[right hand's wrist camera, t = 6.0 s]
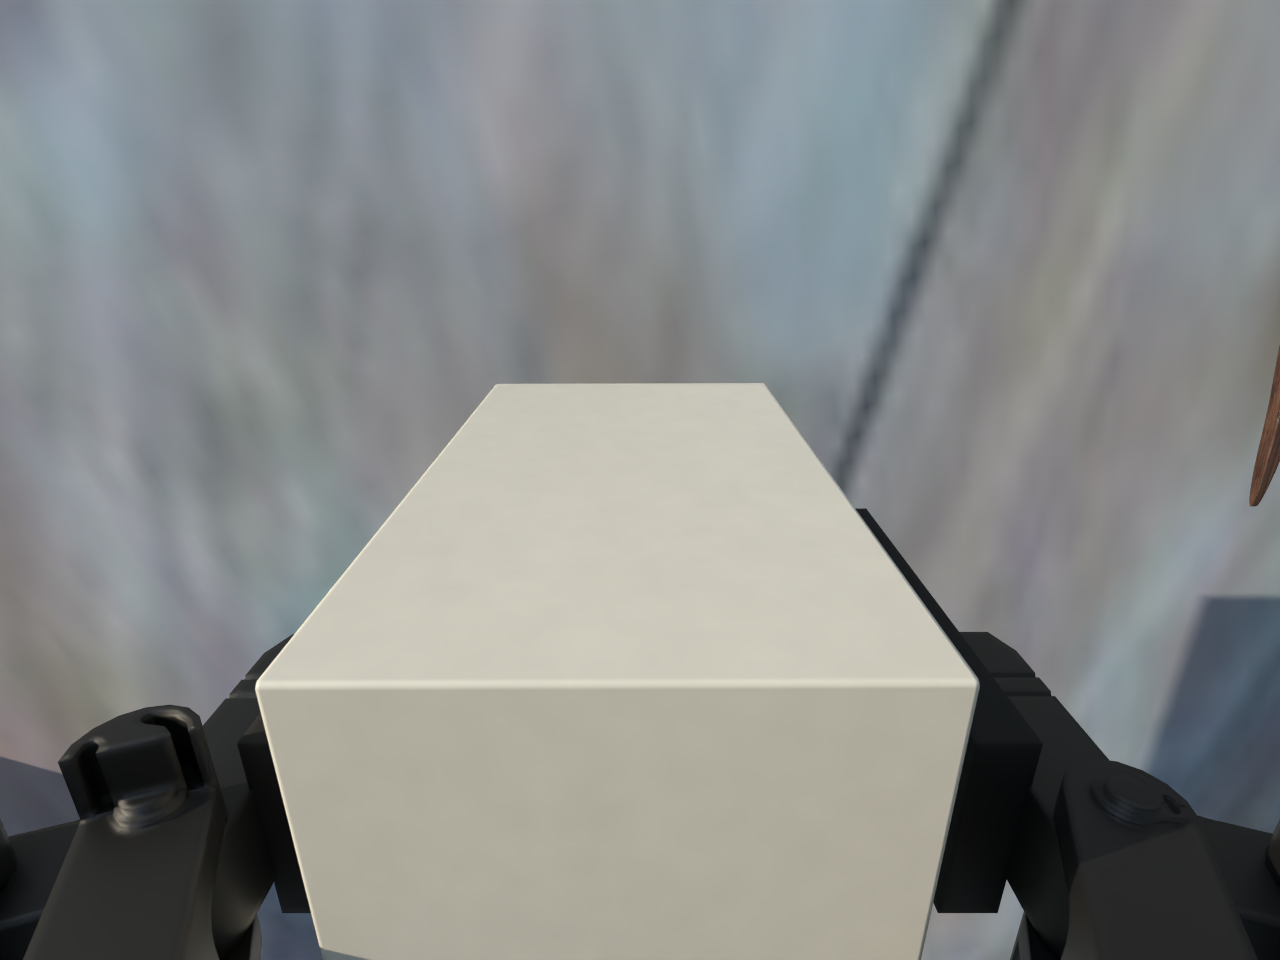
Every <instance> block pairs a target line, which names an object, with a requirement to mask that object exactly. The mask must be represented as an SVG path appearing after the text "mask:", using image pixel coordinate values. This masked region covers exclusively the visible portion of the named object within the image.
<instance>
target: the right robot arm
mask: <svg viewBox="0 0 1280 960" xmlns="http://www.w3.org/2000/svg"><path fill="white" fill-rule="evenodd" d="M856 510H857V512H858V513H859V515H860V516H861V517H862V519H863V520H864V522H865V523H866V524H867V526H868V527H869V528H870V530H871V531H872V533H873V534H874V535H875V537H876V538H877V540H878V541H879V542H880V544H881V545H882V546H883V548H884V549H885V551H886V552H887V553H888V555H889V556H890V557H891V559H892V560H893V562H894V563H895V564H896V566H897V567H898V569H899V570H900V571H901V573H902V574H903V575H904V577H905V578H906V580H907V581H908V582H909V584H910V585H911V587H912V588H913V589H914V591H915V592H916V593H917V595H918V596H919V598H920V599H921V600H922V602H923V603H924V605H925V606H926V607H927V609H928V610H929V611H930V613H931V614H932V616H933V617H934V618H935V620H936V621H937V622H938V624H939V625H940V627H941V628H942V629H943V631H944V632H945V634H946V635H947V636H948V638H949V639H950V640H951V642H952V643H953V645H954V646H955V647H956V649H957V650H958V652H959V653H960V654H961V656H962V657H963V658H964V660H965V661H966V663H967V664H968V665H969V667H970V668H971V670H972V671H973V672H974V674H975V675H976V676H977V678H978V680H979V684H980V688H979V693H978V697H977V702H976V707H975V711H974V716H973V720H972V725H971V730H970V734H969V739H968V744H967V748H966V753H965V757H964V762H963V767H962V771H961V776H960V781H959V785H958V790H957V794H956V799H955V804H954V808H953V813H952V817H951V822H950V827H949V831H948V836H947V841H946V845H945V850H944V854H943V859H942V864H941V868H940V873H939V878H938V882H937V887H936V891H935V896H934V901H933V902H934V905H935V907H936V909H937V912H938V913H998V909H999V905H1000V902H1001V898H1002V894H1003V891H1004V887H1005V883H1006V879H1007V880H1008V882H1009V884H1010V886H1011V888H1012V890H1013V891H1014V893H1015V895H1016V897H1017V899H1018V901H1019V902H1020V904H1021V906H1022V908H1023V910H1024V913H1023V917H1022V920H1021V924H1020V927H1019V931H1018V934H1017V938H1016V941H1015V944H1014V948H1013V951H1012V955H1011V958H1010V960H1280V820H1279V822H1278V824H1277V827H1276V829H1275V831H1274V833H1273V834H1271V833H1267V832H1262V831H1258V830H1254V829H1249V828H1245V827H1241V826H1237V825H1232V824H1228V823H1224V822H1219V821H1215V820H1211V819H1207V818H1203V817H1200V816H1197V815H1196V814H1195V812H1194V811H1193V809H1192V808H1191V806H1190V805H1189V804H1188V802H1187V801H1186V800H1185V799H1184V798H1182V797H1181V796H1180V795H1179V794H1178V793H1177V792H1175V791H1174V790H1173V789H1172V788H1171V787H1170V786H1168V785H1167V784H1166V783H1164V782H1162V781H1160V780H1158V779H1157V778H1155V777H1153V776H1151V775H1150V774H1148V773H1146V772H1144V771H1142V770H1140V769H1137V768H1134V767H1131V766H1128V765H1125V764H1122V763H1119V762H1116V761H1109V759H1108V758H1107V757H1106V756H1105V755H1104V753H1103V752H1102V751H1101V750H1100V749H1099V748H1098V746H1097V745H1096V744H1095V743H1094V742H1093V741H1092V739H1091V738H1090V737H1089V736H1088V735H1087V733H1086V732H1085V731H1084V730H1083V729H1082V728H1081V726H1080V725H1079V724H1078V723H1077V722H1076V721H1075V719H1074V718H1073V717H1072V716H1071V715H1070V714H1069V712H1068V711H1067V710H1066V709H1065V708H1064V706H1063V705H1062V704H1061V703H1060V702H1059V701H1058V699H1057V698H1056V697H1055V696H1051V691H1050V690H1049V689H1048V688H1047V686H1046V685H1045V684H1044V683H1043V682H1042V681H1041V679H1040V678H1036V677H1035V672H1034V671H1033V670H1032V669H1031V668H1030V666H1029V665H1028V664H1027V663H1026V662H1025V661H1024V659H1023V658H1022V657H1021V656H1020V655H1019V654H1018V652H1017V651H1016V650H1014V649H1013V648H1011V647H1009V646H1008V645H1006V644H1005V643H1003V642H1002V641H1000V640H999V639H997V638H996V637H994V636H993V635H991V634H990V633H988V632H959V631H958V630H957V629H956V627H955V626H954V625H953V623H952V622H951V621H950V619H949V618H948V617H947V615H946V614H945V613H944V611H943V610H942V609H941V607H940V606H939V605H938V603H937V602H936V601H935V599H934V598H933V597H932V595H931V594H930V593H929V591H928V590H927V589H926V587H925V586H924V585H923V584H922V582H921V581H920V580H919V578H918V577H917V576H916V574H915V573H914V572H913V570H912V569H911V568H910V566H909V565H908V564H907V562H906V561H905V560H904V558H903V557H902V556H901V554H900V553H899V552H898V550H897V549H896V548H895V546H894V545H893V544H892V542H891V541H890V540H889V538H888V537H887V536H886V534H885V533H884V532H883V530H882V529H881V528H880V526H879V525H878V524H877V522H876V521H875V520H874V518H873V517H872V516H871V514H870V513H869V512H868V511H867V509H856ZM293 636H294V634H293V635H291V636H290V637H288V638H287V639H285V640H283V641H282V642H280V643H279V644H277V645H276V646H274V647H273V648H271V649H270V650H268V651H267V652H265V653H264V654H263V655H262V656H261V658H260V659H259V660H258V661H257V662H256V664H255V665H254V666H253V667H252V668H251V669H250V671H249V672H248V673H247V674H246V675H245V676H246V678H245V680H241V681H240V682H239V684H238V685H237V686H236V687H235V688H234V690H233V691H232V692H231V693H230V698H229V699H225V700H224V701H223V703H222V704H221V705H220V706H219V707H218V709H217V710H216V711H215V712H214V713H213V714H212V716H211V717H210V718H209V719H208V720H207V722H206V723H205V724H204V725H203V726H202V723H201V720H200V716H199V715H197V714H196V713H195V712H194V711H192V710H191V709H190V708H187V707H181V706H174V705H164V706H155V707H147V708H143V709H140V710H136V711H133V712H130V713H127V714H123V715H120V716H118V717H116V718H114V719H112V720H110V721H108V722H106V723H104V724H102V725H100V726H98V727H96V728H94V729H92V730H91V731H89V732H88V733H87V734H85V735H84V736H83V737H81V738H80V739H79V740H77V741H76V742H75V743H73V744H72V745H71V746H70V747H69V749H68V750H67V751H66V752H65V754H64V755H63V756H62V758H61V759H60V760H59V761H58V764H59V766H60V769H61V771H62V774H63V776H64V779H65V781H66V784H67V786H68V789H69V792H70V794H71V797H72V799H73V802H74V804H75V807H76V809H77V812H78V814H79V817H80V820H77V821H73V822H69V823H65V824H61V825H56V826H52V827H48V828H44V829H39V830H35V831H31V832H27V833H22V834H18V835H14V836H10V837H8V835H7V833H6V831H5V829H4V827H3V824H2V822H1V820H0V960H260V956H261V946H262V936H261V930H260V924H259V920H258V917H257V912H258V910H259V908H260V906H261V904H262V902H263V901H264V899H265V897H266V895H267V893H268V891H269V890H270V888H271V886H272V884H273V882H274V883H275V887H276V890H277V894H278V898H279V902H280V905H281V909H282V913H311V910H310V906H309V902H308V898H307V894H306V890H305V886H304V882H303V878H302V874H301V870H300V866H299V862H298V858H297V854H296V850H295V846H294V842H293V838H292V834H291V831H290V827H289V823H288V819H287V815H286V811H285V807H284V803H283V799H282V795H281V791H280V787H279V783H278V779H277V775H276V771H275V767H274V763H273V759H272V755H271V751H270V747H269V743H268V739H267V735H266V731H265V727H264V723H263V719H262V715H261V711H260V707H259V703H258V699H257V695H256V691H255V686H256V682H257V680H258V679H259V678H260V677H261V675H262V674H263V673H264V672H265V670H266V669H267V668H268V667H269V665H270V664H271V663H272V662H273V660H274V659H275V658H276V657H277V655H278V654H279V653H280V652H281V651H282V649H283V648H284V647H285V646H286V644H287V643H288V642H289V641H290V639H291V638H292V637H293Z"/></svg>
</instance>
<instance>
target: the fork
mask: <svg viewBox="0 0 1280 960" xmlns="http://www.w3.org/2000/svg"><path fill="white" fill-rule="evenodd" d="M1279 462H1280V347H1279V352H1278V357H1277V363H1276V368H1275V374H1274V379H1273V385H1272V390H1271V396H1270V401H1269V406H1268V411H1267V415H1266V420H1265V424H1264V428H1263V432H1262V437H1261V441H1260V445H1259V449H1258V454H1257V458H1256V463H1255V467H1254V472H1253V478H1252V484H1251V490H1250V506H1257V505H1258V504H1259V502H1260V501H1261V499H1262V498H1263V496H1264V494H1265V492H1266V490H1267V488H1268V486H1269V484H1270V482H1271V480H1272V477H1273V475H1274V473H1275V471H1276V469H1277V466H1278V464H1279Z"/></svg>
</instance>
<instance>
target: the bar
mask: <svg viewBox="0 0 1280 960" xmlns="http://www.w3.org/2000/svg"><path fill="white" fill-rule="evenodd" d="M979 688H980V684H979V680H978V678H977V676H976V675H975V674H974V672H973V671H972V670H971V668H970V667H969V665H968V664H967V663H966V661H965V660H964V658H963V657H962V656H961V654H960V653H959V652H958V650H957V649H956V647H955V646H954V645H953V643H952V642H951V640H950V639H949V638H948V636H947V635H946V634H945V632H944V631H943V629H942V628H941V627H940V625H939V624H938V622H937V621H936V620H935V618H934V617H933V616H932V614H931V613H930V611H929V610H928V609H927V607H926V606H925V605H924V603H923V602H922V600H921V599H920V598H919V596H918V595H917V593H916V592H915V591H914V589H913V588H912V587H911V585H910V584H909V582H908V581H907V580H906V578H905V577H904V575H903V574H902V573H901V571H900V570H899V569H898V567H897V566H896V564H895V563H894V562H893V560H892V559H891V557H890V556H889V555H888V553H887V552H886V551H885V549H884V548H883V546H882V545H881V544H880V542H879V541H878V540H877V538H876V537H875V535H874V534H873V533H872V531H871V530H870V528H869V527H868V526H867V524H866V523H865V522H864V520H863V519H862V517H861V516H860V515H859V513H858V512H857V510H856V509H855V508H854V506H853V505H852V504H851V502H850V501H849V499H848V498H847V497H846V495H845V494H844V492H843V491H842V490H841V488H840V487H839V486H838V484H837V483H836V481H835V480H834V479H833V477H832V476H831V475H830V473H829V472H828V470H827V469H826V468H825V466H824V465H823V463H822V462H821V461H820V459H819V458H818V457H817V455H816V454H815V452H814V451H813V450H812V448H811V447H810V445H809V444H808V443H807V441H806V440H805V439H804V437H803V436H802V434H801V433H800V432H799V430H798V429H797V427H796V426H795V425H794V423H793V422H792V421H791V419H790V418H789V416H788V415H787V414H786V412H785V411H784V410H783V408H782V407H781V405H780V404H779V403H778V401H777V400H776V398H775V397H774V396H773V394H772V393H771V392H770V390H769V389H768V387H767V386H766V385H765V384H764V383H696V384H497V385H495V387H494V388H493V389H492V390H491V391H490V393H489V394H488V395H487V396H486V398H485V399H484V400H483V401H482V403H481V404H480V405H479V406H478V408H477V409H476V410H475V411H474V413H473V414H472V415H471V416H470V418H469V419H468V420H467V421H466V422H465V424H464V425H463V426H462V427H461V429H460V430H459V431H458V432H457V434H456V435H455V436H454V437H453V439H452V440H451V441H450V442H449V444H448V445H447V446H446V447H445V448H444V450H443V451H442V452H441V453H440V455H439V456H438V457H437V458H436V460H435V461H434V462H433V463H432V465H431V466H430V467H429V468H428V470H427V471H426V472H425V473H424V475H423V476H422V477H421V478H420V479H419V481H418V482H417V483H416V484H415V486H414V487H413V488H412V489H411V491H410V492H409V493H408V494H407V496H406V497H405V498H404V499H403V501H402V502H401V503H400V504H399V506H398V507H397V508H396V509H395V510H394V512H393V513H392V514H391V515H390V517H389V518H388V519H387V520H386V522H385V523H384V524H383V525H382V527H381V528H380V529H379V530H378V532H377V533H376V534H375V535H374V536H373V538H372V539H371V540H370V541H369V543H368V544H367V545H366V546H365V548H364V549H363V550H362V551H361V553H360V554H359V555H358V556H357V558H356V559H355V560H354V561H353V563H352V564H351V565H350V566H349V567H348V569H347V570H346V571H345V572H344V574H343V575H342V576H341V577H340V579H339V580H338V581H337V582H336V584H335V585H334V586H333V587H332V589H331V590H330V591H329V592H328V593H327V595H326V596H325V597H324V598H323V600H322V601H321V602H320V603H319V605H318V606H317V607H316V608H315V610H314V611H313V612H312V613H311V615H310V616H309V617H308V618H307V620H306V621H305V622H304V623H303V624H302V626H301V627H300V628H299V629H298V631H297V632H296V633H295V634H294V636H293V637H292V638H291V639H290V641H289V642H288V643H287V644H286V646H285V647H284V648H283V649H282V651H281V652H280V653H279V654H278V655H277V657H276V658H275V659H274V660H273V662H272V663H271V664H270V665H269V667H268V668H267V669H266V670H265V672H264V673H263V674H262V675H261V677H260V678H259V679H258V680H257V682H256V686H255V691H256V695H257V699H258V703H259V707H260V711H261V715H262V719H263V723H264V727H265V731H266V735H267V739H268V743H269V747H270V751H271V755H272V759H273V763H274V767H275V771H276V775H277V779H278V783H279V787H280V791H281V795H282V799H283V803H284V807H285V811H286V815H287V819H288V823H289V827H290V831H291V834H292V838H293V842H294V846H295V850H296V854H297V858H298V862H299V866H300V870H301V874H302V878H303V882H304V886H305V890H306V894H307V898H308V902H309V906H310V910H311V914H312V918H313V922H314V926H315V930H316V934H317V938H318V942H319V946H320V950H321V954H322V958H323V960H921V956H922V951H923V947H924V942H925V938H926V933H927V928H928V924H929V919H930V915H931V910H932V905H933V901H934V896H935V891H936V887H937V882H938V878H939V873H940V868H941V864H942V859H943V854H944V850H945V845H946V841H947V836H948V831H949V827H950V822H951V817H952V813H953V808H954V804H955V799H956V794H957V790H958V785H959V781H960V776H961V771H962V767H963V762H964V757H965V753H966V748H967V744H968V739H969V734H970V730H971V725H972V720H973V716H974V711H975V707H976V702H977V697H978V693H979Z"/></svg>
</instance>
